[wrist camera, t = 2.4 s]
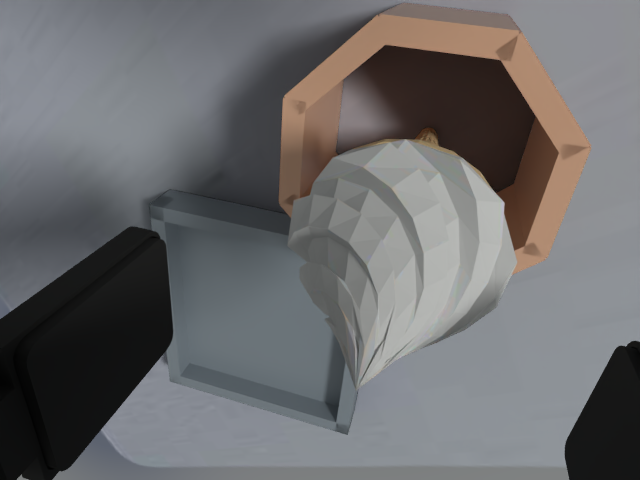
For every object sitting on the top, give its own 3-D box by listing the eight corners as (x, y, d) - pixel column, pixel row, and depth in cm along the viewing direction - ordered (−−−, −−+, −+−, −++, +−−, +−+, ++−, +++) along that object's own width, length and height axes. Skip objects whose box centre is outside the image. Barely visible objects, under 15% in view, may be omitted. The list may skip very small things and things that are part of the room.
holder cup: (332, -6, 19) (286, 2, 14) (589, 23, 17) (633, 44, 12) (314, 207, 24) (276, 264, 19) (511, 248, 22) (521, 322, 17)
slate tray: (170, 189, 26) (149, 204, 24) (386, 235, 23) (379, 255, 22) (185, 360, 32) (170, 381, 31) (354, 409, 30) (347, 434, 28)
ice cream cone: (376, 196, 22) (252, 480, 10) (355, 76, 20) (157, 253, 8) (500, 184, 21) (541, 518, 8) (494, 50, 18) (538, 231, 6)
